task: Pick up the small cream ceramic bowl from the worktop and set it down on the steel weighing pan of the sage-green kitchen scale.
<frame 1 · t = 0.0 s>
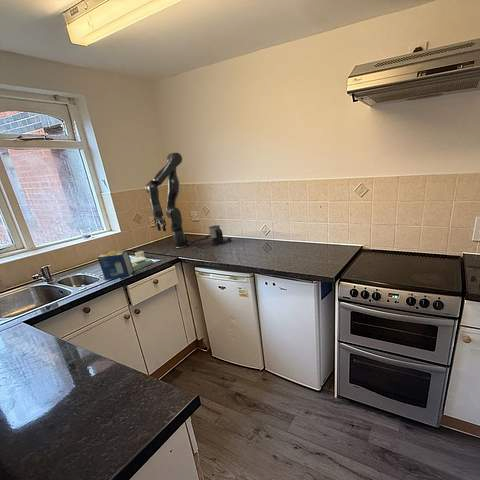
hand: (162, 230, 238), 17 cm above the countertop, tool pointing down, fingers open, 8 cm apart
bowl: (141, 258, 233), on the countertop
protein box: (119, 275, 199), on the countertop
milk frother: (222, 243, 251), on the countertop
scale: (138, 264, 219), on the countertop
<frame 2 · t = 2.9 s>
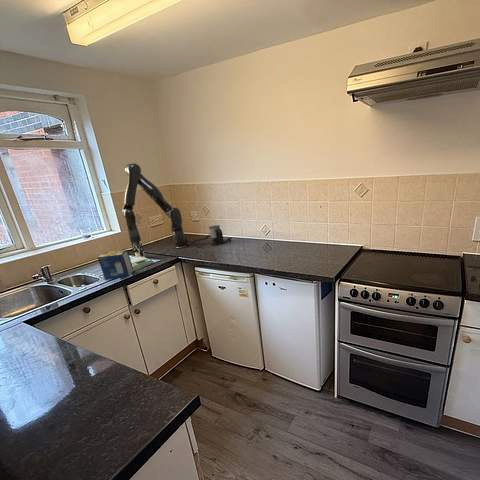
hand: (139, 255, 232), 2 cm above the countertop, tool pointing down, fingers open, 8 cm apart
nothing on the countertop moved.
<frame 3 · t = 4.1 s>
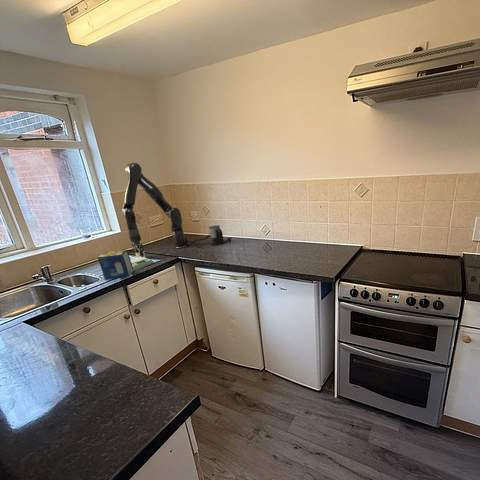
hand: (140, 255, 231), 2 cm above the countertop, tool pointing down, fingers closed on bowl, 6 cm apart
bowl: (141, 258, 232), on the countertop, touching gripper
everything else where it was.
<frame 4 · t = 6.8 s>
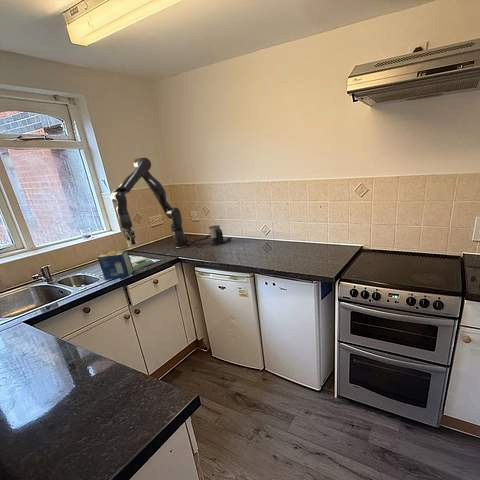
hand: (131, 243, 216), 15 cm above the countertop, tool pointing down, fingers closed on bowl, 6 cm apart
bowl: (133, 246, 217), point 13 cm above the countertop, touching gripper
everything else where it was.
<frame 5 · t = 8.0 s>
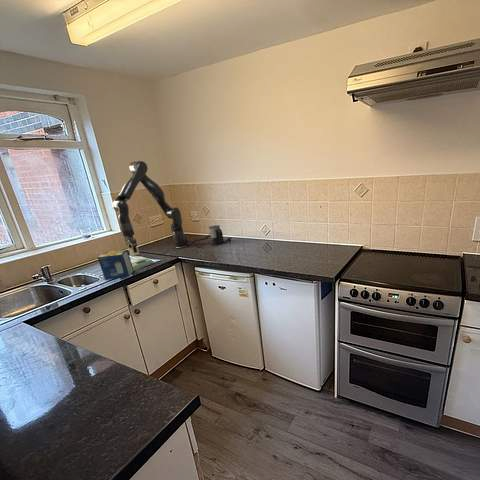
hand: (133, 251, 217), 9 cm above the countertop, tool pointing down, fingers closed on bowl, 6 cm apart
bowl: (135, 254, 218), point 7 cm above the countertop, touching gripper
everything else where it was.
when the fingers open (6 cm above the countertop, at t = 9.3 s): bowl stays where it is, resting on scale.
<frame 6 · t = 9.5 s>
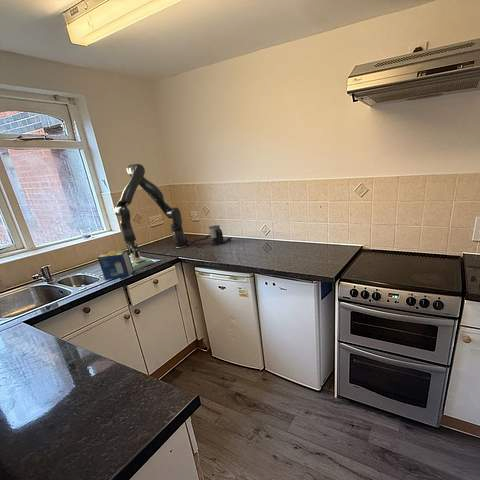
hand: (135, 256, 218), 6 cm above the countertop, tool pointing down, fingers open, 7 cm apart
bowl: (136, 259, 219), point 3 cm above the countertop, touching scale
everything else where it was.
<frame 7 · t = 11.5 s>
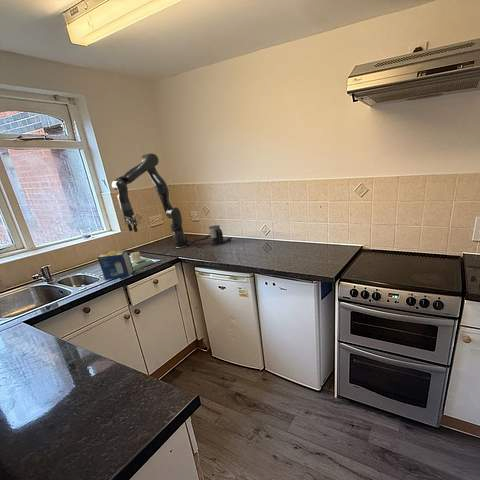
hand: (133, 231, 218), 23 cm above the countertop, tool pointing down, fingers open, 8 cm apart
nothing on the countertop moved.
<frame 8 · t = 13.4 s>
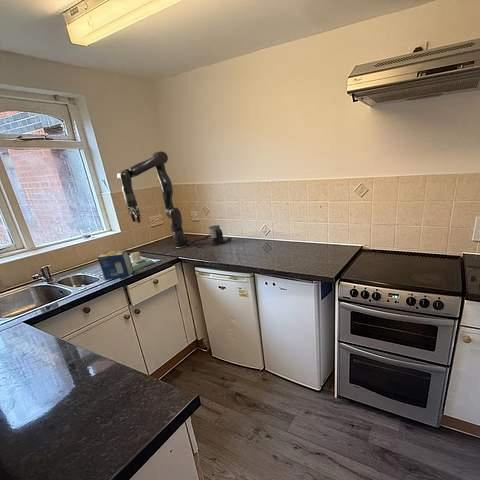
hand: (136, 221, 225), 28 cm above the countertop, tool pointing down, fingers open, 8 cm apart
nothing on the countertop moved.
at the end: bowl inside the target area on the scale (0.3 cm from its centre), point 3.2 cm above the scale's base; bowl tilted 0°; the gripper is holding nothing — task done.
